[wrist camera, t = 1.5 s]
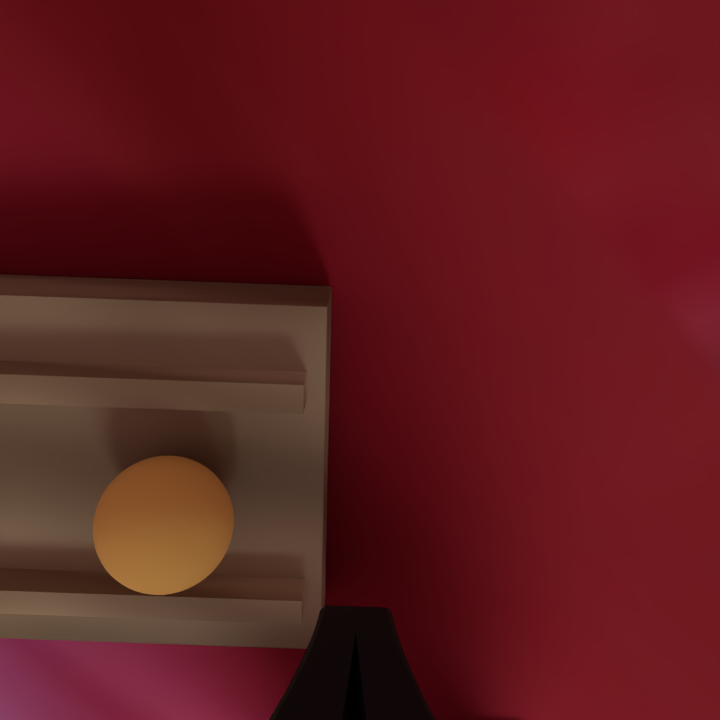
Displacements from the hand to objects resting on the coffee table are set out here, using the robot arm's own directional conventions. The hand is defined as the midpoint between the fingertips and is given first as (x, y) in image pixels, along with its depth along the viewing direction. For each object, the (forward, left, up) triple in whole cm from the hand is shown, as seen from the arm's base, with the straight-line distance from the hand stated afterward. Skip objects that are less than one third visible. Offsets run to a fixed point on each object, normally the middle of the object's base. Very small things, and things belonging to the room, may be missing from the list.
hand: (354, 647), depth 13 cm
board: (0, +10, -8) cm, 13 cm away
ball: (0, +5, -4) cm, 7 cm away
